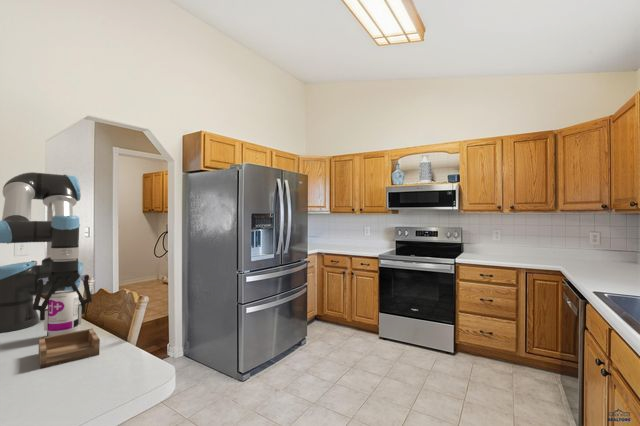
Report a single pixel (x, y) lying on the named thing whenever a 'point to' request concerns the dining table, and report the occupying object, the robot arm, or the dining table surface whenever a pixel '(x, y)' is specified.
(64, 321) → the supplement can
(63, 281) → the robot arm
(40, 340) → the walnut caddy
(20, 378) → the dining table surface
